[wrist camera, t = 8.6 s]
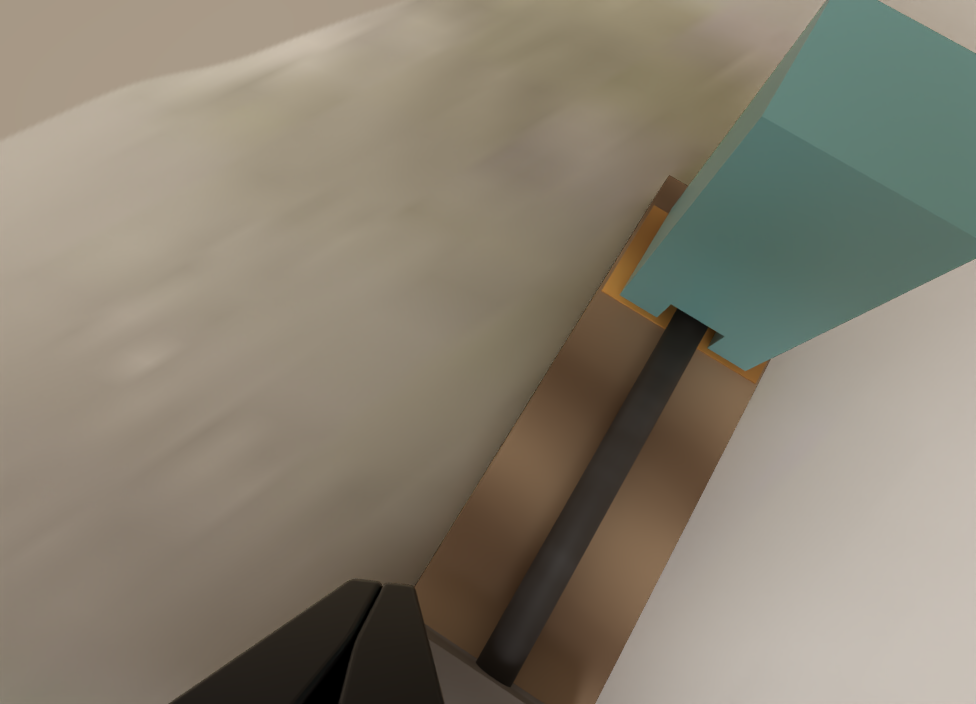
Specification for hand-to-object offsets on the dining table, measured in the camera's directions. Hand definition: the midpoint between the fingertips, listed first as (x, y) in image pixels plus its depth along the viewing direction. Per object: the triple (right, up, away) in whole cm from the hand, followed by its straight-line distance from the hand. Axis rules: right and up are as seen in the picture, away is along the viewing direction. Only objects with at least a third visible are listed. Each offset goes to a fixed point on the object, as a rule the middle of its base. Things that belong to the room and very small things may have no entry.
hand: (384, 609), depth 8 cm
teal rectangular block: (+9, +6, +14) cm, 18 cm away
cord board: (+6, 0, +14) cm, 15 cm away
